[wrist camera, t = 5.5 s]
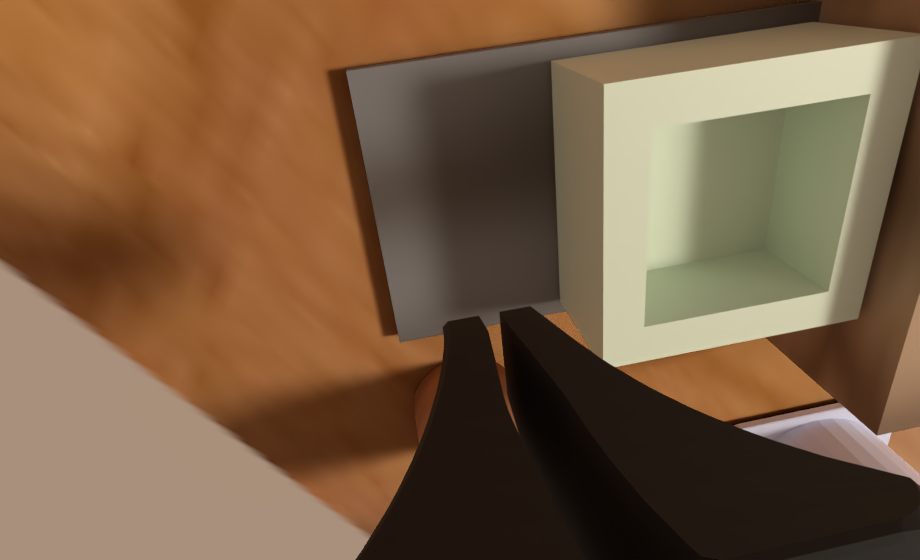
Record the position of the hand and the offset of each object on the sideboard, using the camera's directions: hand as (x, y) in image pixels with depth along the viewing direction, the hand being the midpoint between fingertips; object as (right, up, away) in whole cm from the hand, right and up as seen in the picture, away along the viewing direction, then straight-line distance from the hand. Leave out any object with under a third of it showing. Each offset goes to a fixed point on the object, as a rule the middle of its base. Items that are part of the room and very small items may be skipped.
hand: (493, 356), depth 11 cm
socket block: (+6, +5, +8) cm, 11 cm away
